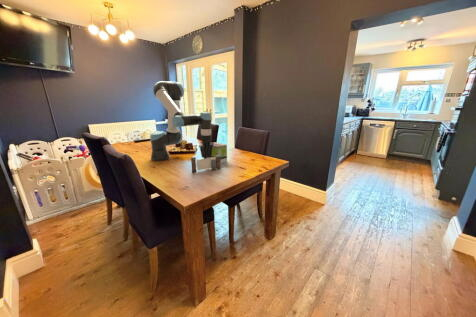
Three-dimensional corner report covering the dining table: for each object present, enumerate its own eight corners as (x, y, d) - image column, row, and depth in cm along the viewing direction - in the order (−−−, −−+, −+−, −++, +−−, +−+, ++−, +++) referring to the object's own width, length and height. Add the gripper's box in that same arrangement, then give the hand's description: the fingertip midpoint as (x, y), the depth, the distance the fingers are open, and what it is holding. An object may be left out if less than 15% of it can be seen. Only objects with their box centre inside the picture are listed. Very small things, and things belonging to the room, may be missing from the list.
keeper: (211, 170, 141) (210, 159, 139) (215, 169, 142) (215, 159, 140) (211, 170, 140) (211, 160, 138) (216, 170, 141) (215, 159, 139)
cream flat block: (197, 170, 137) (197, 160, 135) (197, 169, 139) (196, 159, 137) (216, 167, 142) (215, 157, 140) (215, 166, 144) (214, 157, 142)
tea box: (227, 161, 161) (227, 144, 156) (218, 164, 154) (217, 146, 150) (216, 158, 171) (215, 141, 167) (207, 160, 164) (206, 143, 160)
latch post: (215, 168, 145) (215, 155, 142) (219, 167, 146) (219, 155, 143) (217, 169, 142) (216, 156, 139) (220, 169, 143) (220, 156, 141)
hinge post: (191, 171, 138) (190, 157, 135) (196, 171, 140) (195, 156, 136) (192, 173, 135) (191, 158, 132) (197, 172, 136) (196, 158, 133)
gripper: (203, 136, 129) (204, 169, 136) (216, 134, 140) (216, 164, 147) (195, 135, 133) (196, 167, 140) (208, 132, 144) (209, 162, 151)
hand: (206, 165), depth 144 cm, fingers closed
